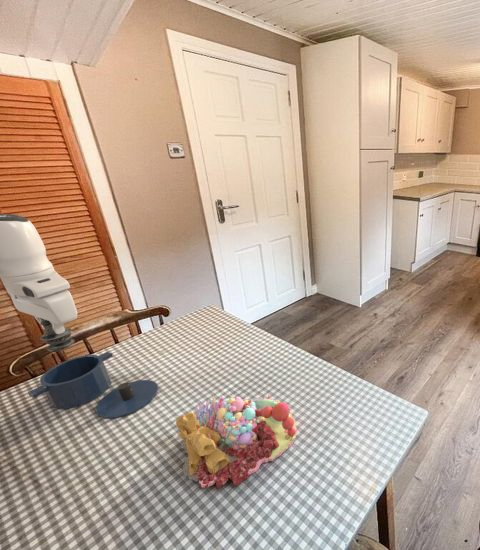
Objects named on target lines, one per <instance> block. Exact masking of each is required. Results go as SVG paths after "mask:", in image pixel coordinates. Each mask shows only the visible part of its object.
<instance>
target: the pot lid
mask: <svg viewBox="0 0 480 550" xmlns="http://www.w3.org/2000/svg"><path fill="white" fill-rule="evenodd" d="M158 392H159V386H158V384H157V382H156V381H153V380H150V379H140V380H139V379H138V380H134V381H131V382H128V381H127V382H126V381H125V382H123V383H121V384H119V385H118V386H117V387H116V388H114V389H113V390H111V391H110V392H108V393H107V394H105V395H104V396H103V397H102V398H101V399H100V400H99V402H98V403H97V405H96V409H95V411H96V414H97V416H99V417H100V418H102V419H107V420H112V419H114V420H115V419H119V418H123V417H126V416H129V415H131V414H134V413H136V412H138V411H139V410H141V409H143V408H144V407H146V406H147V405H148V404H150V403H151V402H152V401H153V400H154V399H155V398H156V396H157V394H158Z"/></svg>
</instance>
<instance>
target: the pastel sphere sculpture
mask: <svg viewBox="0 0 480 550" xmlns="http://www.w3.org/2000/svg"><path fill="white" fill-rule="evenodd" d="M199 414H200V415H199ZM175 425H176V427H177V429H178V431H179V432H178V433H177V434H176V435H177V436H178V437H179V438H180V439H181V440H182V442H181V443H180V449H182V450H184V453H186V454H187V455H188V456H187V457H186V458H185V460H184V464H182V471H183V472H182V474H183V475H185V476H188V479H189V480H191V481H194V482H198V483H199V485H200V487H201V488H202V489H206V488H209V487H211V486H213V485H216V490H217V492H219V491H220V490H221V489H222V488H223V486H225V484H226V483H227V482H228V481H229V480H230V481H232V483H233V487H236V486H238V485H239V484H241V483H242V482H244V481H246V480H247V479H249V478H250V475H252V474H254V473H257V472H258V470H259V469H260V467H261V466H262V464H264V463H268V462H273V461H274V460H276V458H278V457H281V456H282V455H283V453H284V452H286V451H287V450H288V449H289V448H291V447H292V445H293V443H294V442H295V440H296V438H297V432H298V428H297V422H296V420H295V418H294V417H293V414H292V411H290V406H289V405H288V403H286V402H281V401H279V400H275V399H272V398H271V395H270V394H268V396H267V398H266V397H265V396H264V395H263V396H262V398H255V399H252V400H251V399H242V398H241V396H239V395H238V396H235V397H230V398H223V397H222V396H221V397H220V399H219V403H218V401H216V400H215V395H213V396H212V401H211V403H210V405H209V402H208V400H206V403H205V405H204V404H202V401H199V402H198V406H197V405H196V406H195V413H194V412H191V411H189V412H187V413H184V414H183V415H179V416H178V417H177V418H176V421H175Z"/></svg>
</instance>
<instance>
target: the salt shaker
mask: <svg viewBox="0 0 480 550" xmlns="http://www.w3.org/2000/svg"><path fill="white" fill-rule="evenodd" d="M40 319H41V321H42V322H41V323H39V324H40V326H41V325H43V326H44V328H45V330H44V334H42V335H41V336H40V337H39V340H40V341H43V343H44V344H46V345H48V347H47V348H46V349H47V351H48V352H57V351H61V350H65V349H67V348H69V347H71V346H72V345H74V344H75V341H76V340H75V339H73V338H71V336H72V328H70V327H64V328H65V332H63V333H60V334H56V333H54V332H53V330H52V323H50V321H48V320H45V319H42V318H40Z"/></svg>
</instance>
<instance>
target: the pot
mask: <svg viewBox="0 0 480 550" xmlns="http://www.w3.org/2000/svg"><path fill="white" fill-rule="evenodd" d="M112 357H114V355H113V353H112V352H108V351H106V352H104V353H102V354H100V355H97V354H86V355H80V356H76V357H73V358H70V359H67V360H65V361H62V362H61V363H59V364H56V365H54V366H52V367H51V368H50V369H48V370H47V371H45V372H44V373H43V374H42V376H40V378H39V381H40V382H39V386H38V387H35V388H33V389H32V390H29V391H28V392H27V394H28V396H29V397H31V398H33V399H36V398H37V397H39V396H41V395H43V394H45V395H46V397H47V399H48V401H49V403H50V405H51V407H52V408H54V409H56V410H70V409H75V408H78V407H81V406H83V405H85V404H88V403H91V402H93V401H95V400H96V399H97V398H100V397H101V396H102V395H103V394H104V393H106V392H107V391H108V390H109V389H110V387H111V385H112V380H111V377H110V374H109V372H108V370H107V367H106V365H105V361H108V360H109V359H111V358H112Z"/></svg>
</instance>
